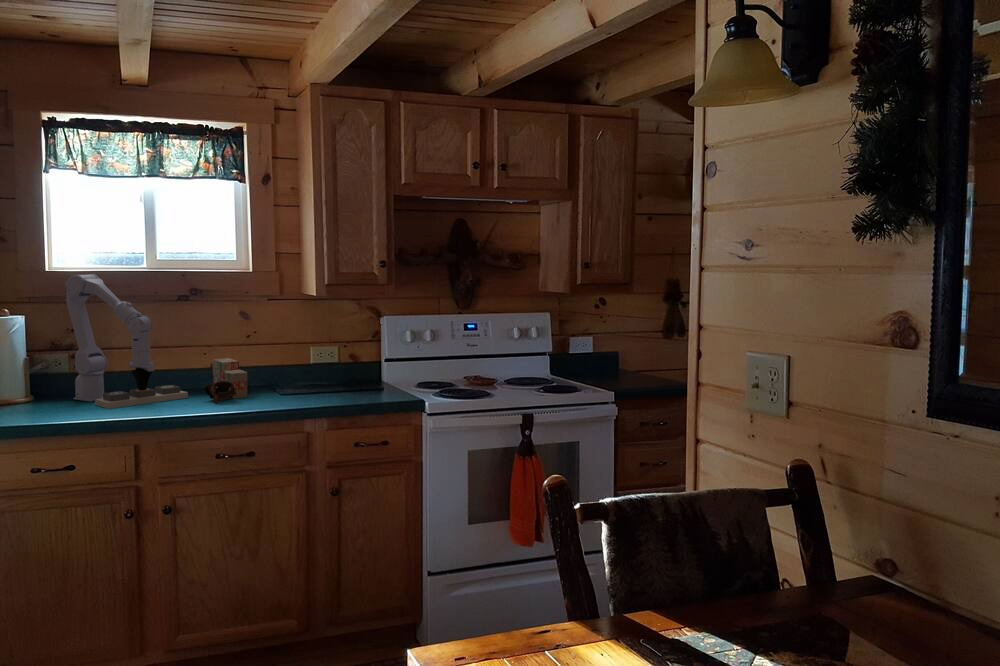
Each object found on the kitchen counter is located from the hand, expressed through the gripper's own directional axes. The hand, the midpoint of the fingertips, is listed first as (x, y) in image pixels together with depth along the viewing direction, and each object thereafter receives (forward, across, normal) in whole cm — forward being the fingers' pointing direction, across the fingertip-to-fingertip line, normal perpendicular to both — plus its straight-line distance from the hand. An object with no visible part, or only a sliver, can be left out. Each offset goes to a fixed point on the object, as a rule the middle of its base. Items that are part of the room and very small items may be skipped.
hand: (142, 389), depth 278 cm
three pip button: (+2, 0, 0) cm, 2 cm away
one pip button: (+2, 0, -9) cm, 9 cm away
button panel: (+4, 0, 0) cm, 4 cm away
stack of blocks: (+4, -8, -29) cm, 30 cm away
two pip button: (+1, 0, +9) cm, 9 cm away
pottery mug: (+4, -19, -18) cm, 27 cm away
